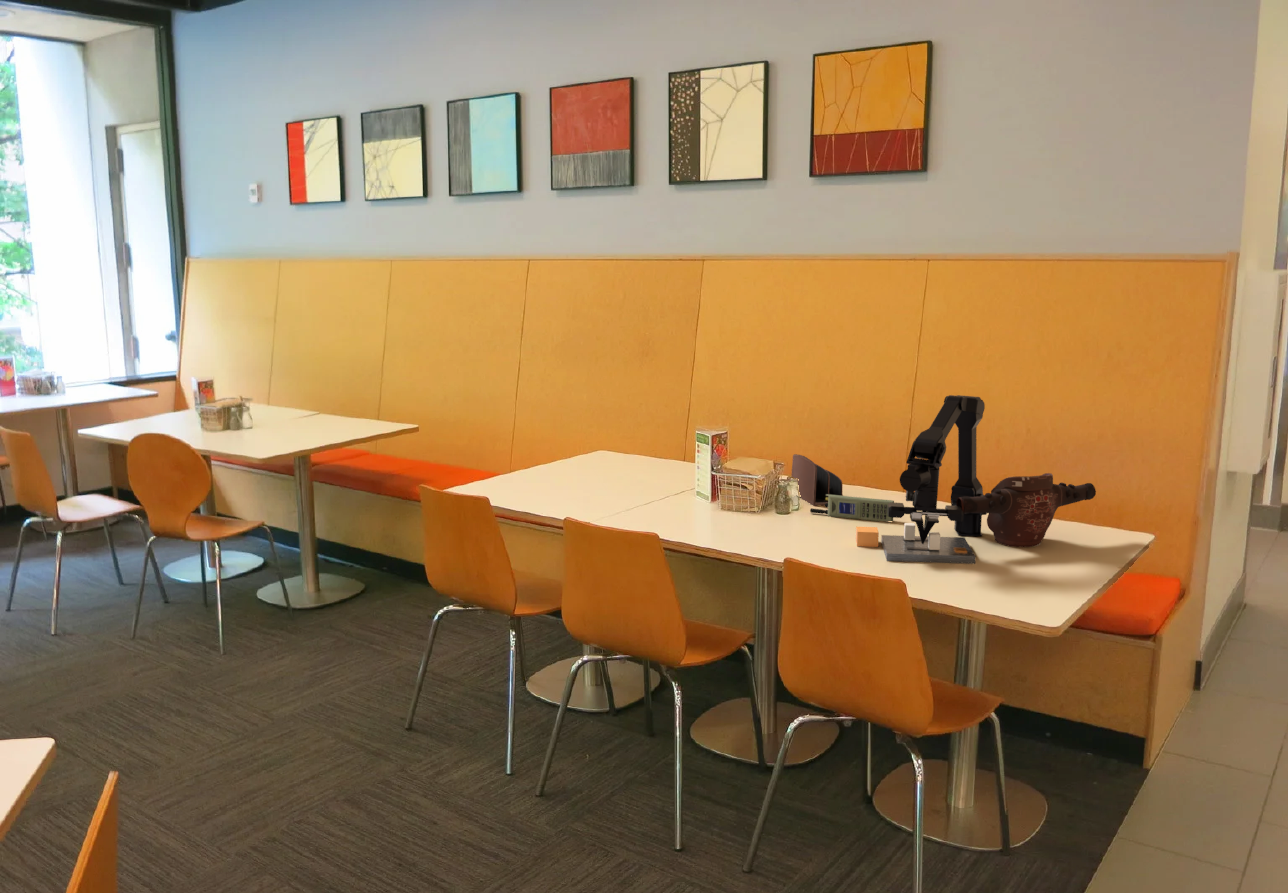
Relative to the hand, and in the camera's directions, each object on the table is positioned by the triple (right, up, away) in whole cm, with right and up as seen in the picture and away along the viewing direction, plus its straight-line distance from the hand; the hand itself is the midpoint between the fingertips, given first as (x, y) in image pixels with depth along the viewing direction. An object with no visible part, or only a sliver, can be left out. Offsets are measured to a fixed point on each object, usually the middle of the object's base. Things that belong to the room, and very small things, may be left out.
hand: (922, 543), depth 273 cm
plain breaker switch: (-1, +1, +9) cm, 9 cm away
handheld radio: (-10, +3, +42) cm, 43 cm away
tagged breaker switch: (+3, -1, 0) cm, 3 cm away
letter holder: (-17, +8, +67) cm, 70 cm away
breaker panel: (+2, -3, +4) cm, 5 cm away
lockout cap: (-12, -1, +13) cm, 18 cm away
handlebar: (+31, -1, +12) cm, 33 cm away
